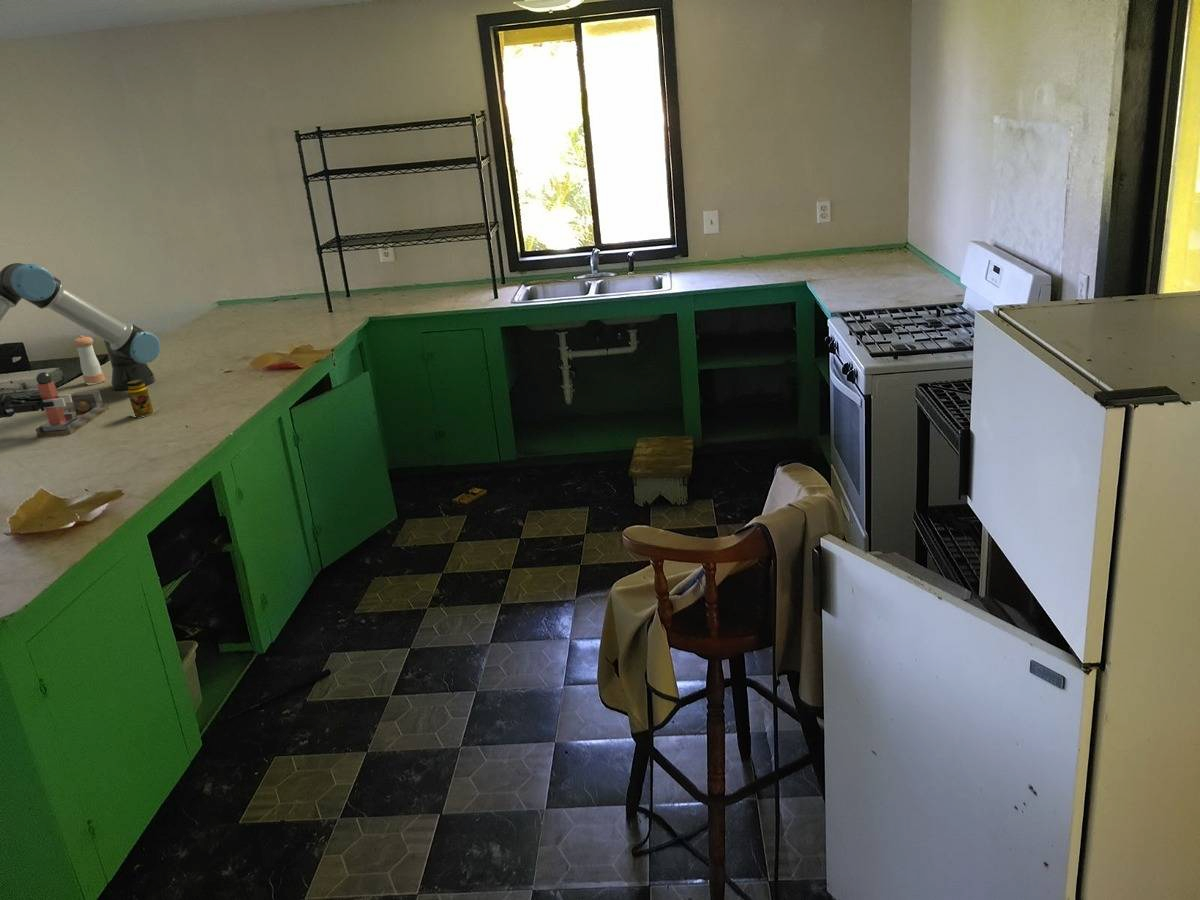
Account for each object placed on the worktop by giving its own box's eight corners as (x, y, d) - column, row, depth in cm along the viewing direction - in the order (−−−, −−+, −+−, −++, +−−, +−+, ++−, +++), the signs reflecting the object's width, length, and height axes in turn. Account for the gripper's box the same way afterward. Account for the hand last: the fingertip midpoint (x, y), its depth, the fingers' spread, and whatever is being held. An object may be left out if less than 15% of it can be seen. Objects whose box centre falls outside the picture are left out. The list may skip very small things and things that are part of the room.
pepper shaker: (99, 384, 367) (85, 337, 360) (81, 386, 367) (67, 338, 361) (108, 379, 374) (95, 332, 367) (91, 380, 374) (77, 333, 367)
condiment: (141, 418, 318) (132, 384, 313) (126, 416, 322) (116, 383, 318) (160, 411, 324) (151, 378, 319) (144, 409, 328) (135, 376, 323)
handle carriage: (58, 422, 318) (41, 368, 311) (80, 420, 317) (63, 366, 311) (43, 431, 309) (25, 376, 302) (66, 429, 309) (48, 374, 302)
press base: (78, 411, 333) (72, 392, 330) (108, 409, 333) (103, 389, 330) (37, 437, 309) (31, 416, 306) (70, 434, 308) (64, 413, 306)
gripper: (15, 409, 318) (83, 403, 317) (-14, 425, 303) (57, 419, 302) (8, 388, 315) (77, 381, 315) (-22, 403, 300) (50, 397, 299)
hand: (67, 400), depth 308 cm, fingers closed on handle carriage, 3 cm apart
